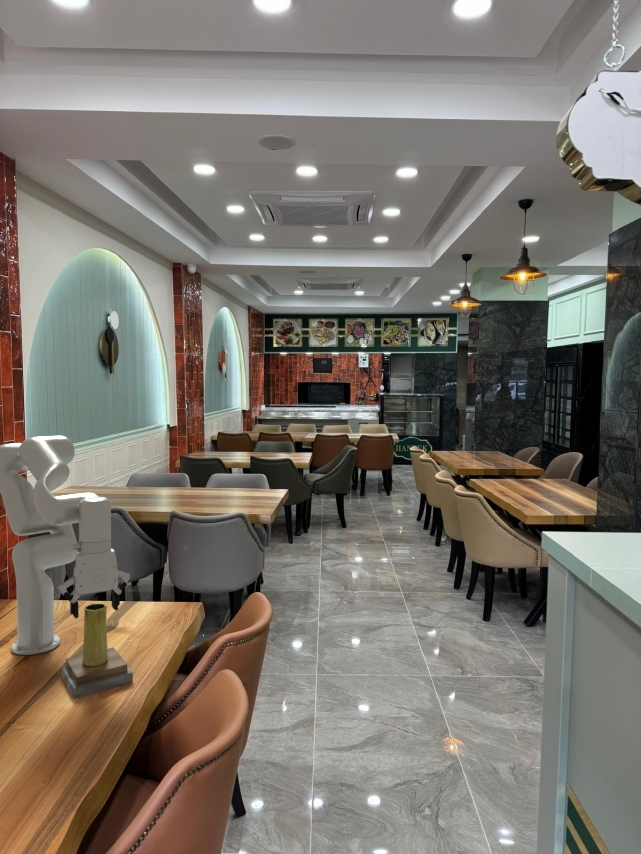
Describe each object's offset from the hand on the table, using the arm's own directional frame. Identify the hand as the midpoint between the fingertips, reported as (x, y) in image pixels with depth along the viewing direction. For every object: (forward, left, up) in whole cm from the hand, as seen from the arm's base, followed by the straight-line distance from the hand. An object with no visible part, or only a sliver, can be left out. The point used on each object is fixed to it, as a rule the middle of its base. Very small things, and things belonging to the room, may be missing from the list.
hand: (95, 612), depth 144 cm
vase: (0, 0, -13) cm, 13 cm away
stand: (0, 0, -17) cm, 17 cm away
